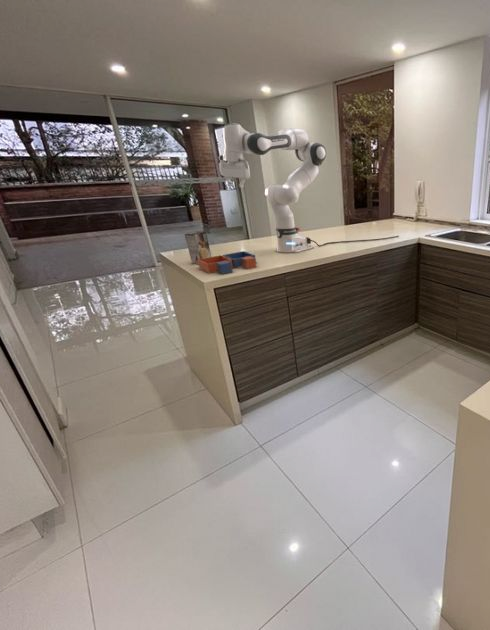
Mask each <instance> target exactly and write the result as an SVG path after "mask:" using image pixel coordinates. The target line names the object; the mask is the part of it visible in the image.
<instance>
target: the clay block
mask: <svg viewBox="0 0 490 630" xmlns="http://www.w3.org/2000/svg"><path fill="white" fill-rule="evenodd" d="M255 258H256V257H255ZM255 258H254V257H251V256H249V257H244V258H242V264H243V266H242V267H243V268H245V269H246V270H248V269H254V268H257V261H256V262H255Z"/></svg>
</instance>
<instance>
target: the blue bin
mask: <svg viewBox="0 0 490 630" xmlns="http://www.w3.org/2000/svg"><path fill="white" fill-rule="evenodd" d="M221 256H224V257H226V258H229V259H231V260H232V264H233V269H235V268H240V267H243V264H242V258H244V257H249V256H251V257H254V258H255V262H256V263H257V259H256V255H255V254H254V253H250V252H247V251H244V250H243V251H236V252H231V253H225V254H222V255H221Z"/></svg>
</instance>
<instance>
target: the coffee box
mask: <svg viewBox="0 0 490 630" xmlns="http://www.w3.org/2000/svg"><path fill="white" fill-rule="evenodd" d="M184 237H185V242H186V245H187V250H188V254H189V258H190V261H191V263H192V264H196V265H197V264H198V259H203V258H209V257H213V256H212V253H211V249H210V244H209V240H208V235H207V232H206V231H202V230H201V231H199V230H198V231H197V230H196V231H192V232H188V233H184ZM198 265H199V264H198Z"/></svg>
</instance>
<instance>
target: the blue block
mask: <svg viewBox="0 0 490 630" xmlns="http://www.w3.org/2000/svg"><path fill="white" fill-rule="evenodd" d="M217 268H218V271H217V273H218V274H221V275H226V274H231V273H233V268H231V263H230V262H228V261H223V262H218V263H217Z"/></svg>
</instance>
